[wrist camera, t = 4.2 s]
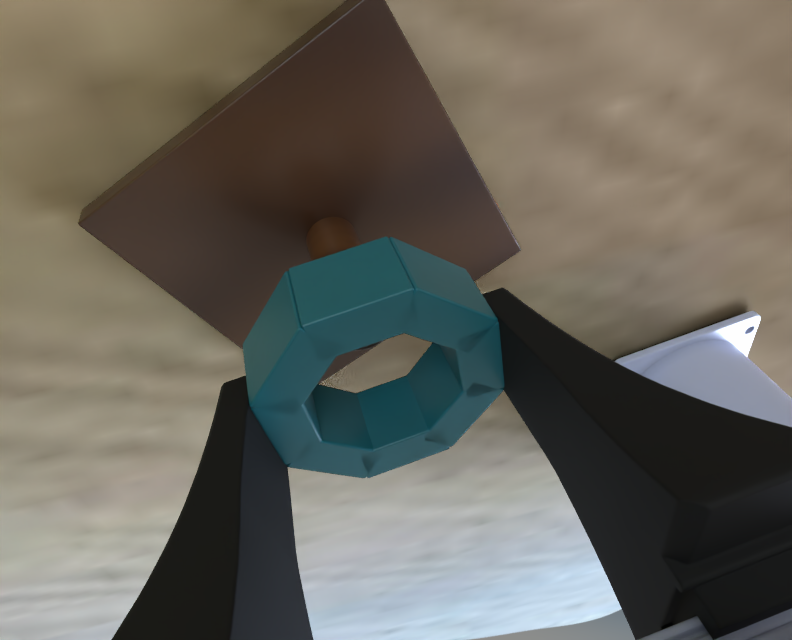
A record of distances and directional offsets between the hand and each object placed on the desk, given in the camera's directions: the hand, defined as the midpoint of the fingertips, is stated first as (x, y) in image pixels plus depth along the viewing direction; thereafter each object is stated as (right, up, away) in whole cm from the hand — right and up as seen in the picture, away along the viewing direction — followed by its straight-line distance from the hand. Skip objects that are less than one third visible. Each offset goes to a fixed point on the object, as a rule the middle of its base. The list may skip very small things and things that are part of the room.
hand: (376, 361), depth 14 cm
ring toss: (-2, +4, +5) cm, 6 cm away
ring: (0, 0, +1) cm, 1 cm away
